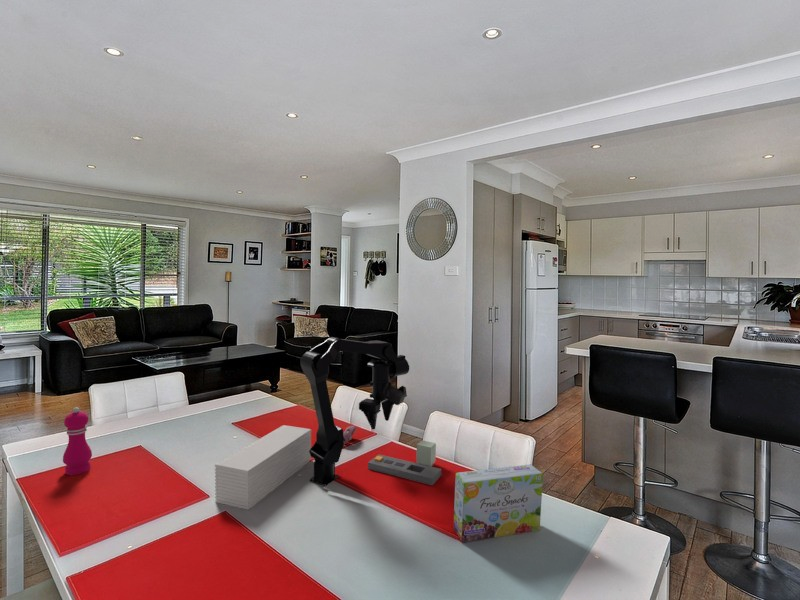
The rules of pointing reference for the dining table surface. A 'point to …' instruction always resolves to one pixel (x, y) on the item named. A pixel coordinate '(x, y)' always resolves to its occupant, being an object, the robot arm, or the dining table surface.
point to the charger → (426, 453)
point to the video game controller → (348, 433)
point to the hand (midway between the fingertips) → (380, 424)
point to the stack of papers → (261, 466)
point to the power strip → (405, 469)
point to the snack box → (497, 502)
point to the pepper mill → (76, 443)
